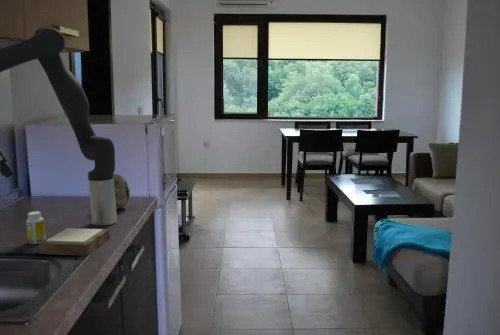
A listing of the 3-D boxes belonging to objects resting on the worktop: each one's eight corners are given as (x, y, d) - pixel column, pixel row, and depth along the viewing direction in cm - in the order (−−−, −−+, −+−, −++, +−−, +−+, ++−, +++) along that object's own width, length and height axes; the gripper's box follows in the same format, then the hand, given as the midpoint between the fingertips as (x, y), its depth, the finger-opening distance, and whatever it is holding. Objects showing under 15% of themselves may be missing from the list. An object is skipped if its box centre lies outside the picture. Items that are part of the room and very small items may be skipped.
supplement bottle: (48, 238, 169) (45, 210, 168) (43, 244, 164) (40, 214, 162) (31, 239, 169) (28, 211, 167) (25, 244, 163) (22, 215, 162)
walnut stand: (66, 237, 170) (65, 226, 169) (109, 239, 167) (108, 227, 167) (40, 253, 154) (38, 241, 154) (87, 255, 152) (86, 243, 151)
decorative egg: (96, 211, 204) (94, 176, 201) (112, 204, 215) (109, 171, 212) (121, 213, 201) (119, 177, 198) (135, 206, 212) (133, 172, 209)
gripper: (-5, 123, 144) (23, 171, 149) (-10, 124, 156) (16, 168, 161) (-31, 134, 141) (-2, 183, 145) (-34, 134, 153) (-7, 179, 157)
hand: (8, 175), depth 153 cm, fingers open, 8 cm apart
